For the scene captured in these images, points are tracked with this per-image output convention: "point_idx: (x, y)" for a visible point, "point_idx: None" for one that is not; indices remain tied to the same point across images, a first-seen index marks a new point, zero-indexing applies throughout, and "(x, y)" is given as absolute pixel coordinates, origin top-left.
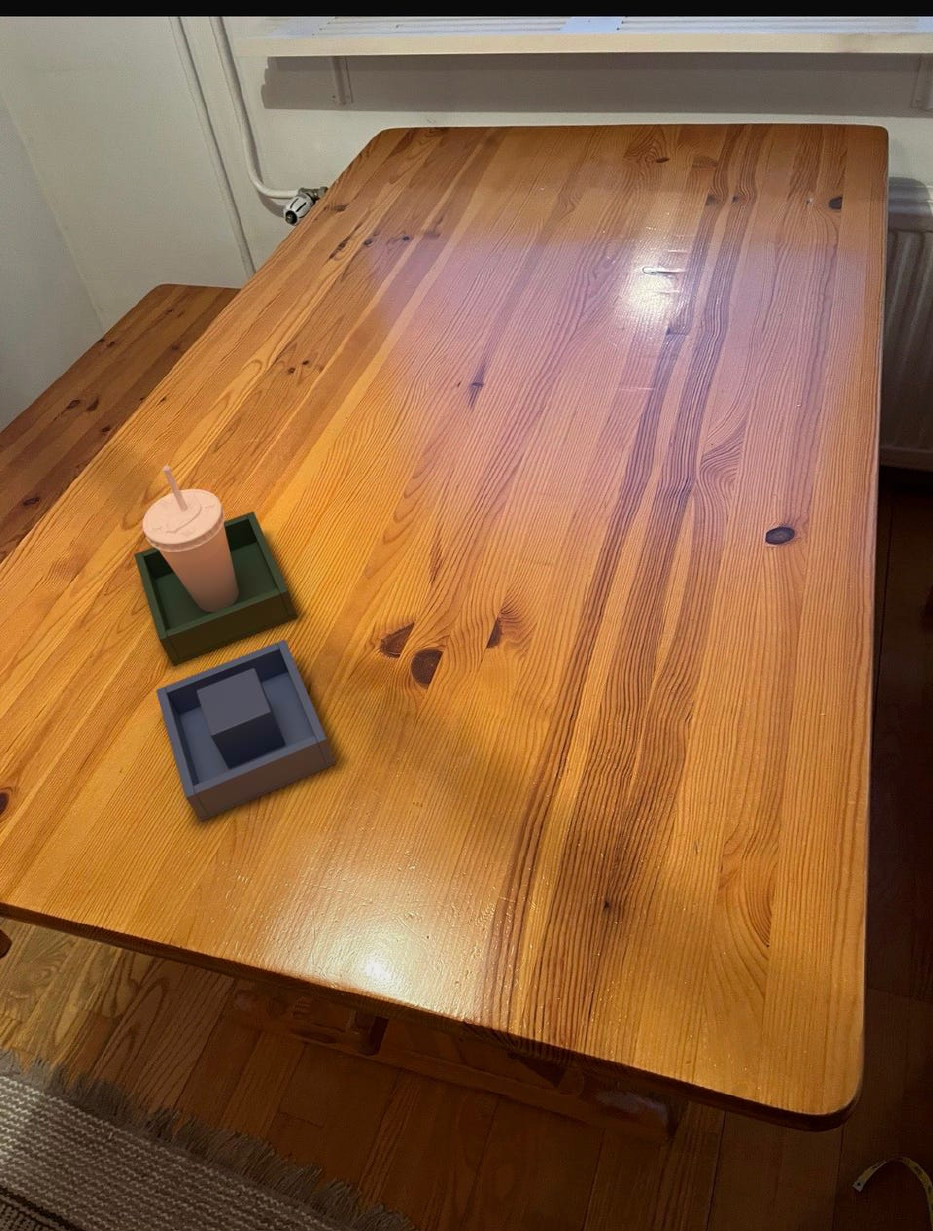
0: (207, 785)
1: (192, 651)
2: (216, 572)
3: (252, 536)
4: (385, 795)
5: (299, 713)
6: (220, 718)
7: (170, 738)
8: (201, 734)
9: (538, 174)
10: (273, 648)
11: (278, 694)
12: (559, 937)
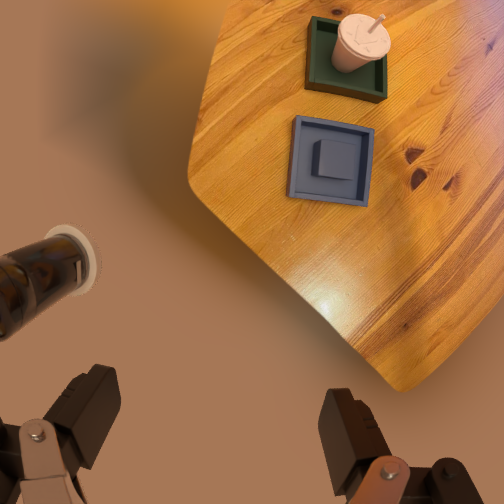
0: (302, 196)
1: (319, 89)
2: (359, 65)
3: None
4: (369, 235)
5: (356, 165)
6: (327, 167)
7: (293, 153)
8: (305, 145)
9: None
10: (366, 130)
11: None
12: (385, 328)
